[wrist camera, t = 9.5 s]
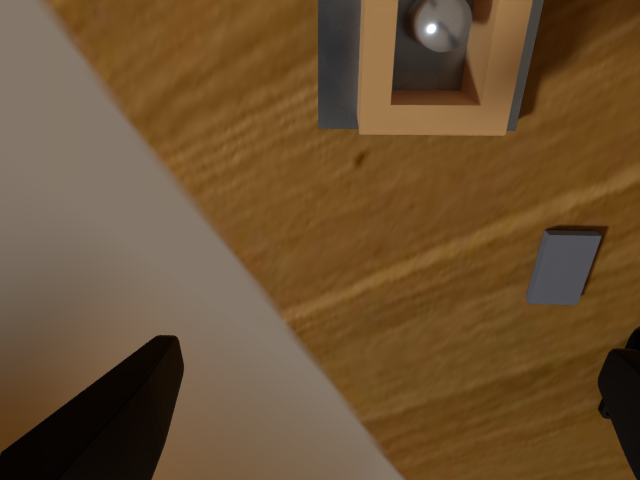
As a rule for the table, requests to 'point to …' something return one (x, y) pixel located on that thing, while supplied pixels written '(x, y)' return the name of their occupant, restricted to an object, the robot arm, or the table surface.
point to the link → (442, 105)
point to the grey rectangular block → (562, 266)
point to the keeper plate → (403, 53)
